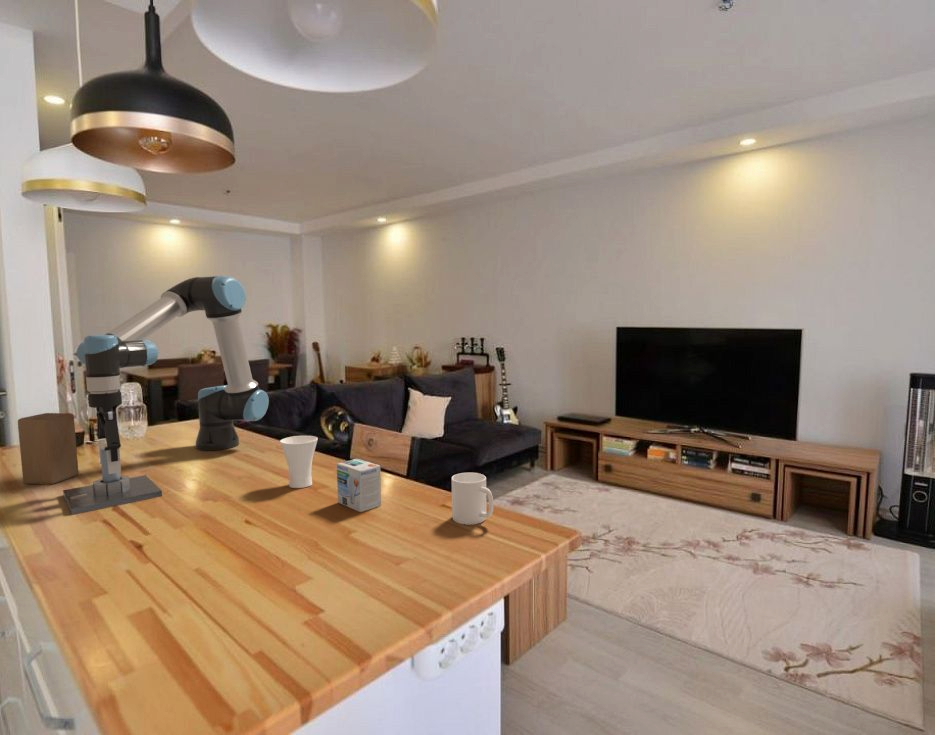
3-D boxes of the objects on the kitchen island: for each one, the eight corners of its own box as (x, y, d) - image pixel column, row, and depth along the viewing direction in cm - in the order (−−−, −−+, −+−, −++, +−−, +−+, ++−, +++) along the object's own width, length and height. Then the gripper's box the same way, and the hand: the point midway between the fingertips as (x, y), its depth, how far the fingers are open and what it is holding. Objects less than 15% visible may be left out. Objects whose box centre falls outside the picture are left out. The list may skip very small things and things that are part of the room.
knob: (119, 487, 148) (115, 436, 146) (122, 490, 145) (118, 438, 143) (102, 490, 145) (97, 438, 143) (104, 493, 142) (100, 440, 141)
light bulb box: (336, 503, 138) (335, 463, 136) (358, 496, 142) (356, 457, 141) (361, 513, 130) (359, 470, 129) (382, 505, 135) (381, 465, 134)
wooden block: (80, 475, 165) (75, 412, 163) (52, 485, 155) (46, 418, 153) (51, 474, 166) (45, 412, 164) (21, 484, 156) (15, 418, 154)
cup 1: (290, 493, 145) (288, 445, 144) (276, 484, 153) (274, 439, 152) (325, 485, 152) (324, 439, 151) (310, 477, 160) (308, 433, 159)
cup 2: (469, 509, 132) (469, 470, 131) (505, 522, 123) (504, 480, 122) (444, 518, 126) (444, 477, 125) (480, 532, 117) (480, 489, 116)
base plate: (145, 479, 159) (144, 465, 159) (162, 495, 144) (161, 480, 144) (63, 495, 146) (62, 479, 145) (72, 514, 131) (70, 497, 130)
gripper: (130, 394, 136) (135, 474, 138) (112, 386, 154) (118, 456, 156) (94, 397, 131) (101, 480, 133) (81, 388, 149) (87, 461, 151)
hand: (110, 467), depth 144 cm, fingers open, 13 cm apart
